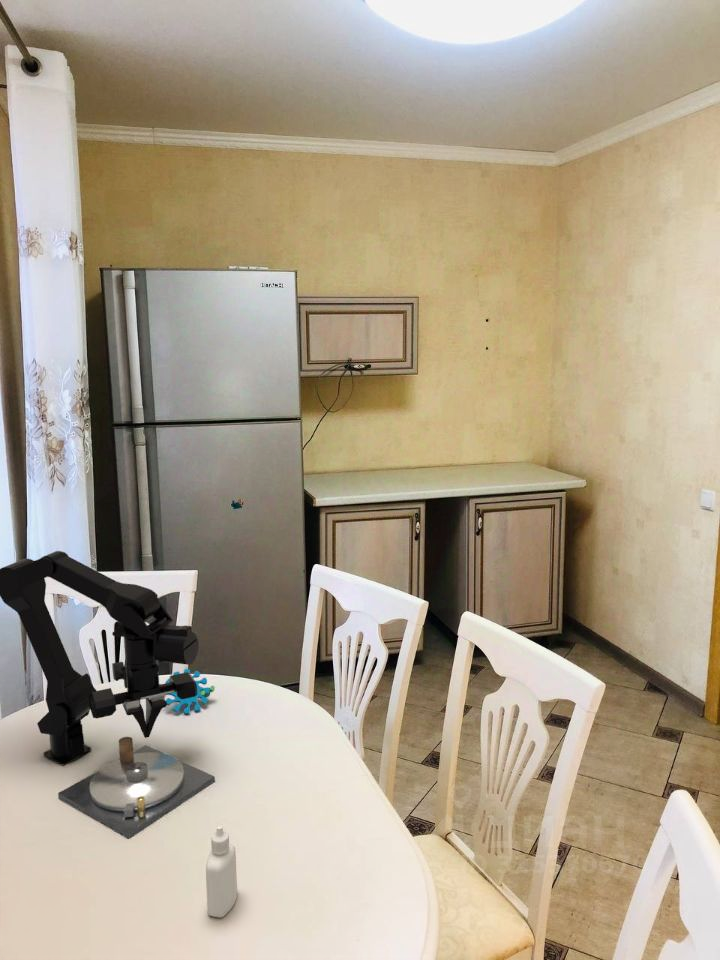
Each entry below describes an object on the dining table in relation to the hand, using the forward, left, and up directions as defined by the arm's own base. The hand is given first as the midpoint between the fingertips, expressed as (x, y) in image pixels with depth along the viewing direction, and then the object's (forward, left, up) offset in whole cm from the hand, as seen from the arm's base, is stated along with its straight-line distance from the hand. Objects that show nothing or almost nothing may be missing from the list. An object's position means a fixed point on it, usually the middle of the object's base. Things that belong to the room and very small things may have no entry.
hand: (146, 736), depth 136 cm
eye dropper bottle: (+37, -17, -6) cm, 41 cm away
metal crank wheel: (+5, -6, -5) cm, 10 cm away
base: (+5, -6, -6) cm, 10 cm away
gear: (-11, +20, -6) cm, 24 cm away
